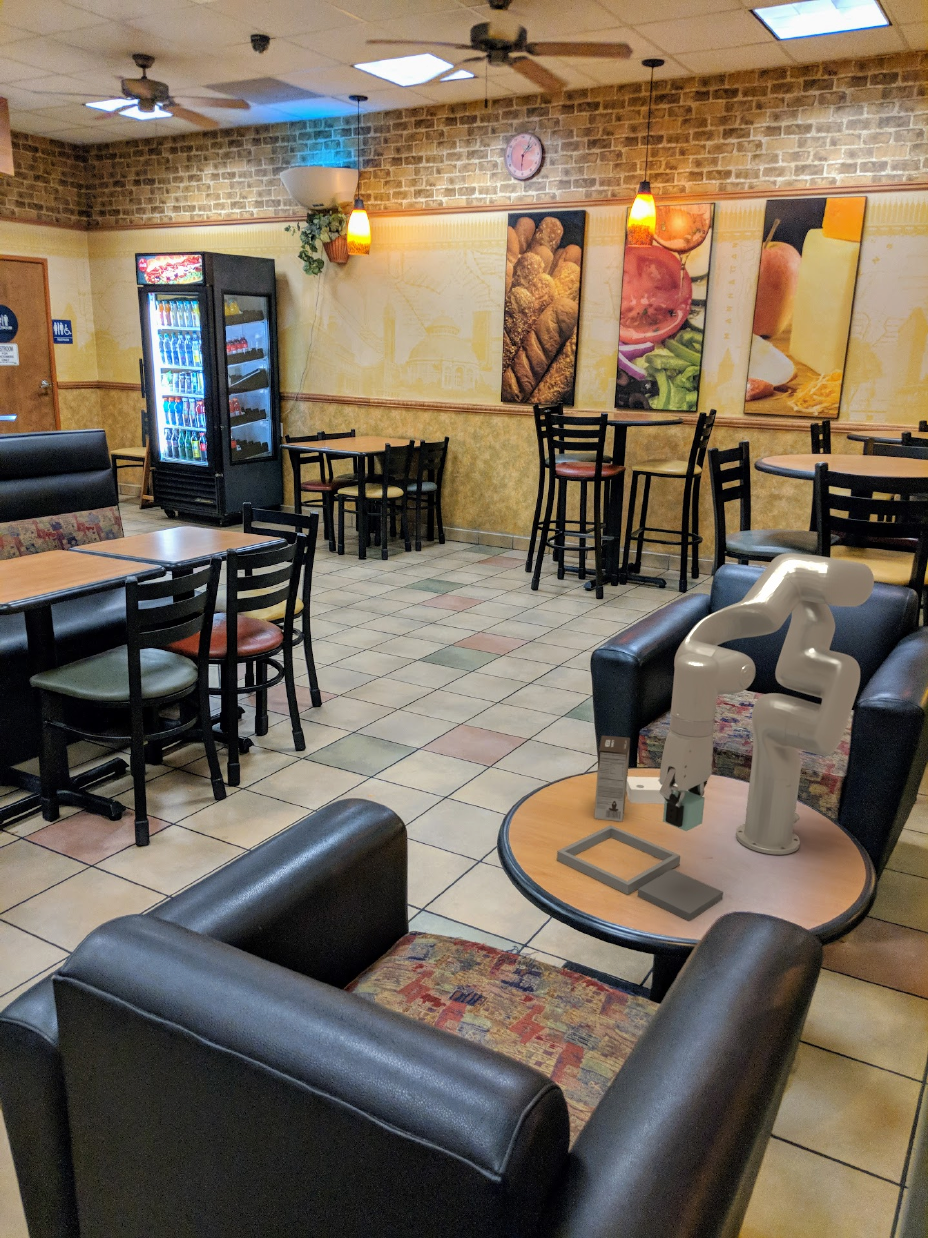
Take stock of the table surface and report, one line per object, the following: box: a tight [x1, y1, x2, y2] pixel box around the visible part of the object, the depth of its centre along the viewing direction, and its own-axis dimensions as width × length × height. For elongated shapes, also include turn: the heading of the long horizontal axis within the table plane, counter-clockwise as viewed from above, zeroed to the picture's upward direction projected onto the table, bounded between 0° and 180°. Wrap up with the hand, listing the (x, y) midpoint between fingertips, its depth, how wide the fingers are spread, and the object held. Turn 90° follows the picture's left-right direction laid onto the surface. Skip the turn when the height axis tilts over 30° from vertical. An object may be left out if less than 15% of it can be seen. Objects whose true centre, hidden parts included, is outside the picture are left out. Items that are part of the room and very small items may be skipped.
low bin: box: [556, 824, 681, 895], centre depth 185 cm, size 17×17×2 cm
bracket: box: [626, 776, 688, 805], centre depth 214 cm, size 13×7×8 cm, turn 90°
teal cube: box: [662, 790, 705, 832], centre depth 169 cm, size 5×5×5 cm
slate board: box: [636, 868, 724, 922], centre depth 173 cm, size 11×11×2 cm
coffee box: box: [594, 735, 631, 823], centre depth 205 cm, size 9×6×16 cm
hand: (682, 818), depth 170 cm, fingers closed on teal cube, 5 cm apart
